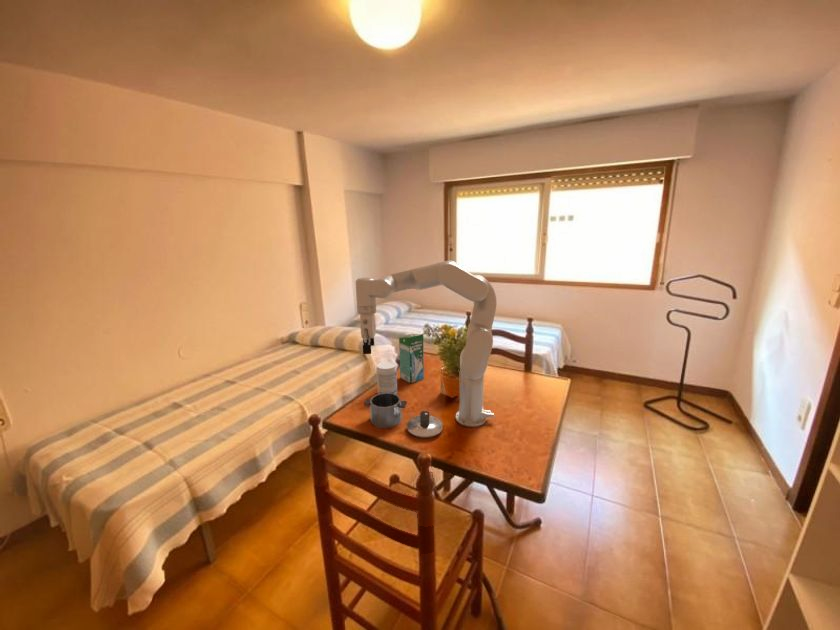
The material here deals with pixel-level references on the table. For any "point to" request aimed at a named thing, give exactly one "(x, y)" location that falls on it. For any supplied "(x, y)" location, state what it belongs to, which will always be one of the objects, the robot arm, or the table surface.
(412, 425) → the lid
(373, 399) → the stockpot
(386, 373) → the supplement tub
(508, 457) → the table surface
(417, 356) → the milk carton
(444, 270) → the robot arm
